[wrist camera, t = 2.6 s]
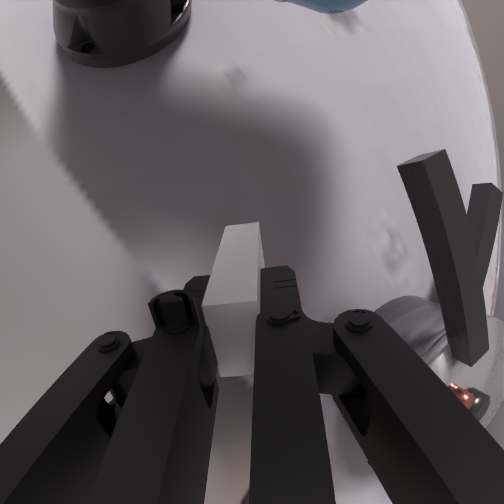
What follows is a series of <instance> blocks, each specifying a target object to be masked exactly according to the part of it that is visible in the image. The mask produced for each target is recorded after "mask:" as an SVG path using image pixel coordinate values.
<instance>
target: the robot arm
mask: <svg viewBox="0 0 504 504" xmlns="http://www.w3.org/2000/svg"><path fill="white" fill-rule="evenodd" d="M191 1H192V0H53V26H54V33H55V36H56V39H57V41H58V43H59V44H60V46H61V47H62V49H63V50H64V51H65V53H66V54H67V55H68V56H69V57H70V58H72V59H73V60H75V61H76V62H78V63H81V64H84V65H87V66H92V67H114V66H120V65H125V64H129V63H132V62H135V61H138V60H141V59H143V58H145V57H148V56H150V55H152V54H153V53H155V52H157V51H159V50H160V49H162V48H163V47H164V46H166V45H167V44H168V43H170V42H171V41H172V40H173V39H174V38H175V37H176V36H177V35H178V34H179V33H180V31H181V30H182V29H183V27H184V26H185V24H186V22H187V20H188V18H189V15H190V12H191ZM275 1H278V2H286V1H287V2H290V3H293V4H297V5H300V6H303V7H306V8H309V9H312V10H314V11H317V12H320V13H326V14H335V13H341V12H344V11H347V10H351V9H353V8H356V7H357V6H359V5H361V4H363V3H364V2H366V1H367V0H275ZM148 305H149V308H150V311H151V314H152V317H153V320H154V323H155V326H156V329H155V332H154V334H153V336H152V337H150V338H147V339H143V340H139V341H135V342H131V339H130V337H129V336H128V334H127V333H125V332H122V331H111V332H107V333H104V334H103V335H101V336H99V337H98V338H96V339H95V340H94V341H93V342H92V343H91V344H90V345H89V346H88V347H87V348H86V349H85V350H84V351H83V352H82V353H81V354H80V355H79V357H78V358H77V359H76V360H75V361H74V362H73V363H72V364H71V365H70V366H69V367H68V368H67V369H66V370H65V371H64V373H63V374H62V375H61V376H60V377H59V378H58V379H57V380H56V381H55V383H54V384H53V385H52V386H51V387H50V388H49V389H48V390H47V391H46V393H45V394H44V395H43V396H42V397H41V398H40V399H39V400H38V402H36V404H35V405H34V406H33V407H32V408H31V409H30V410H29V412H28V413H27V414H26V415H25V416H24V417H23V418H22V420H21V421H20V422H19V423H18V424H17V425H16V427H15V428H14V429H13V430H12V431H11V432H10V434H9V435H8V436H7V437H6V438H5V440H4V441H3V442H2V443H1V444H0V504H204V498H205V490H206V482H207V474H208V467H209V459H210V451H211V444H212V436H213V428H214V421H215V413H216V406H217V399H218V392H219V387H218V382H217V379H216V372H217V366H218V370H219V373H220V377H231V376H247V375H254V386H253V415H252V440H251V467H250V490H249V504H336V502H335V495H334V487H333V480H332V473H331V466H330V459H329V452H328V445H327V439H326V432H325V426H324V419H323V413H322V407H321V401H320V395H319V393H323V394H331V395H332V396H333V399H334V401H335V403H336V405H337V406H338V408H339V410H340V412H341V413H342V415H343V417H344V419H345V420H346V422H347V424H348V426H349V428H350V429H351V431H352V433H353V435H354V436H355V438H356V440H357V442H358V443H359V445H360V447H361V449H362V450H363V452H364V454H365V456H366V457H367V459H368V461H369V463H370V465H371V466H372V468H373V470H374V472H375V473H376V475H377V477H378V479H379V480H380V482H381V484H382V486H383V487H384V489H385V491H386V493H387V494H388V496H389V498H390V500H391V501H392V503H393V504H504V450H503V449H502V448H501V447H500V445H499V444H498V443H497V442H496V441H495V440H494V438H493V437H492V436H491V435H490V434H489V433H488V431H487V430H486V429H485V428H484V427H483V426H482V425H481V423H480V422H479V421H478V420H477V419H476V418H475V417H474V415H473V414H472V413H471V412H470V411H469V410H468V409H467V408H466V406H465V405H464V404H463V403H462V402H461V401H460V400H459V399H458V398H457V396H456V395H455V394H454V393H453V392H452V391H451V390H450V389H449V388H448V387H447V385H446V384H445V383H444V382H443V381H442V380H441V379H440V378H439V377H438V376H437V375H436V374H435V372H434V371H433V370H432V369H431V368H430V367H429V366H428V365H427V364H426V363H425V362H424V361H423V360H422V359H421V358H420V356H419V355H418V354H417V353H416V352H415V351H414V350H413V349H412V348H411V347H410V346H409V345H408V344H407V343H406V342H405V341H404V340H403V339H402V338H401V337H400V336H399V335H398V334H397V333H396V331H395V330H394V329H393V328H392V327H391V326H390V325H389V324H388V323H387V322H386V321H385V320H384V319H383V318H382V317H381V316H379V315H378V314H376V313H375V312H372V311H369V310H365V309H354V310H348V311H346V312H343V313H341V314H340V315H339V316H338V317H337V318H335V321H334V323H323V322H317V321H314V320H312V319H310V318H308V317H307V316H306V315H305V314H304V313H303V311H302V308H301V302H300V297H299V292H298V287H297V282H296V277H295V272H294V271H293V270H292V269H291V268H290V267H288V266H280V267H271V268H265V265H264V257H263V250H262V242H261V235H260V227H259V222H254V223H246V224H238V225H230V226H226V227H225V230H224V233H223V236H222V239H221V243H220V246H219V249H218V252H217V256H216V259H215V262H214V265H213V269H212V272H211V275H206V276H197V277H193V278H192V279H191V280H190V281H188V282H187V283H186V285H185V287H184V289H183V290H171V291H167V292H164V293H161V294H159V295H157V296H156V297H154V298H153V299H151V301H150V302H149V303H148ZM109 391H110V393H111V394H112V396H113V399H112V401H110V402H109V403H107V402H106V400H105V399H104V397H105V395H106V394H107V393H108V392H109Z"/></svg>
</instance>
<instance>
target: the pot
mask: <svg viewBox="0 0 504 504" xmlns="http://www.w3.org/2000/svg"><path fill="white" fill-rule="evenodd" d="M502 195H503V193H502V192H501V191H500V190H499V189H498V188H497V187H496V186H494V185H493V184H492V183H482V184H472V190H471V196H470V201H469V207H468V212H467V218H468V222H469V226H470V230H471V234H472V238H473V242H474V247H475V251H476V256H477V261H478V266H479V271H480V277H481V282H482V288H483V285H484V281H485V278H486V274H487V270H488V266H489V262H490V258H491V254H492V250H493V245H494V241H495V236H496V231H497V226H498V220H499V215H500V209H501V202H502ZM375 313H376V314H378V315H379V316H381V317H382V318H383V319H384V320H385V321H386V322H387V323H388V324H389V325H390V326H391V327H392V328H393V329H394V330H395V331H396V333H397V334H398V335H399V336H400V337H401V338H402V339H403V340H404V341H405V342H406V343H407V344H408V345H409V346H410V347H411V348H412V349H413V350H414V351H415V352H416V353H417V354H418V355H419V356H420V358H421V359H422V360H424V358H425V357H426V356H427V355H428V353H429V352H430V351H431V350H432V348H433V347H434V346H435V345H436V344H437V343H438V342H439V341H440V340H441V339H442V338H443V337H444V336H445V335H446V331H445V326H444V321H443V316H442V311H441V306H440V304H439V303H436V302H433V301H430V300H427V299H425V298H421V297H418V296H403V297H400V298H396V299H394V300H392V301H389V302H388V303H386V304H384V305H383V306H381V307H380V308H379V309H377V310H376V311H375ZM367 462H368V463H369V461H367ZM369 465H370V463H369ZM370 466H371V465H370ZM371 467H372V466H371Z"/></svg>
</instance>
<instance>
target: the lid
mask: <svg viewBox="0 0 504 504" xmlns="http://www.w3.org/2000/svg"><path fill="white" fill-rule="evenodd" d="M397 168H398V171H399V173H400V176H401V178H402V181H403V183H404V186H405V189H406V191H407V194H408V197H409V199H410V202H411V205H412V208H413V211H414V214H415V217H416V220H417V223H418V226H419V229H420V232H421V235H422V238H423V242H424V245H425V248H426V252H427V255H428V259H429V262H430V266H431V270H432V273H433V277H434V281H435V285H436V289H437V293H438V298H439V302H440V306H441V311H442V316H443V321H444V326H445V331H446V335H445V336H444V337H443V338H442V339H441V340H440V341H439V342H438V343H437V344H436V345H435V346H434V347H433V348H432V350H431V351H430V352H429V353H428V355H427V356H426V357H425V358H424V360H423V361H424V362H425V363H426V364H427V365H428V366H429V367H430V368H431V369H432V370H433V371H434V372H435V374H436V375H437V376H438V377H439V378H440V379H441V380H442V381H443V382H444V383H445V384H446V385H447V387H448V388H449V389H450V390H451V391H452V392H453V393H454V394H455V395H456V396H457V398H458V399H459V400H460V401H461V402H462V403H463V404H464V405H465V406H466V408H467V409H468V410H469V411H470V412H471V413H472V414H473V415H474V417H475V418H476V419H477V420H478V421H479V422H480V423H481V425H482V426H483V427H484V428H486V427H487V425H488V424H489V423H490V421H491V420H492V418H493V416H494V415H495V413H496V412H497V410H498V408H499V406H500V404H501V402H502V400H503V398H504V321H503V320H501V319H499V318H496V317H493V316H489V315H486V309H485V302H484V295H483V288H482V282H481V277H480V271H479V266H478V261H477V256H476V251H475V247H474V242H473V238H472V234H471V230H470V226H469V222H468V218H467V214H466V211H465V207H464V204H463V200H462V197H461V194H460V191H459V187H458V184H457V181H456V178H455V175H454V172H453V169H452V167H451V164H450V161H449V158H448V155H447V153H446V150H445V149H444V150H439V151H435V152H431V153H426V154H422V155H419V156H417V157H415V158H412V159H410V160H408V161H406V162H404V163H402V164H400V165H398V166H397Z"/></svg>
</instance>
